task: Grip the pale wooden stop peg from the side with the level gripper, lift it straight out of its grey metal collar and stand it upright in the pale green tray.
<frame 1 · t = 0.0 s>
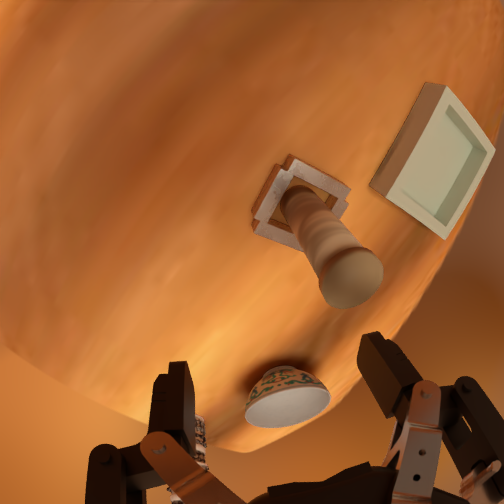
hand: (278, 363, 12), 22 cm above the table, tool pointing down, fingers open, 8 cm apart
stop collar: (298, 203, 33), on the table
tray: (431, 159, 32), on the table
chinaware: (279, 374, 51), on the table
stop peg: (320, 234, 27), in the stop collar
decorative candle: (185, 419, 57), on the table
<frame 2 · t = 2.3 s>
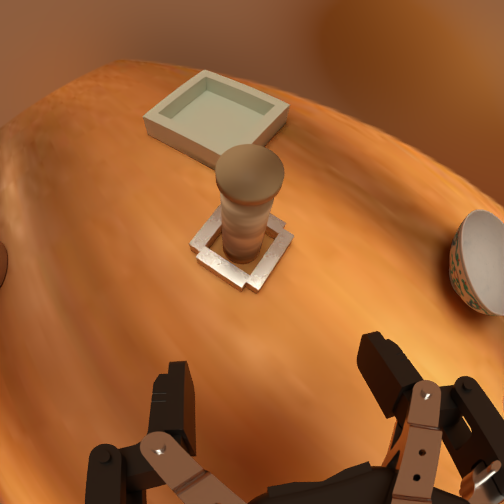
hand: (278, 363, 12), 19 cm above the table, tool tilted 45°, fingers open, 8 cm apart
stop collar: (241, 246, 35), on the table
tray: (216, 126, 41), on the table
chinaware: (462, 277, 36), on the table
stop peg: (244, 216, 28), in the stop collar
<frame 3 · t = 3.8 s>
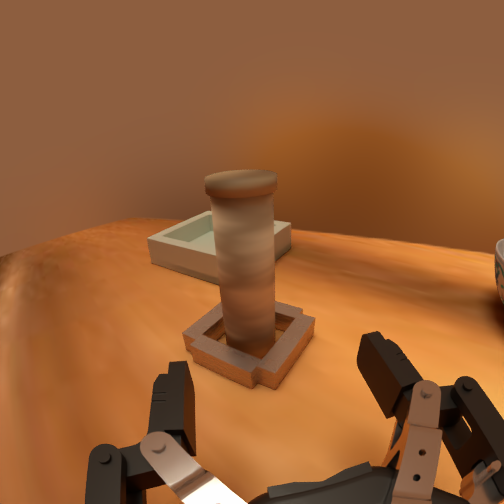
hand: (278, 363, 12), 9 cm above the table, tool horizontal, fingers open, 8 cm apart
stop collar: (250, 343, 26), on the table
tray: (221, 255, 44), on the table
stop peg: (246, 271, 23), in the stop collar
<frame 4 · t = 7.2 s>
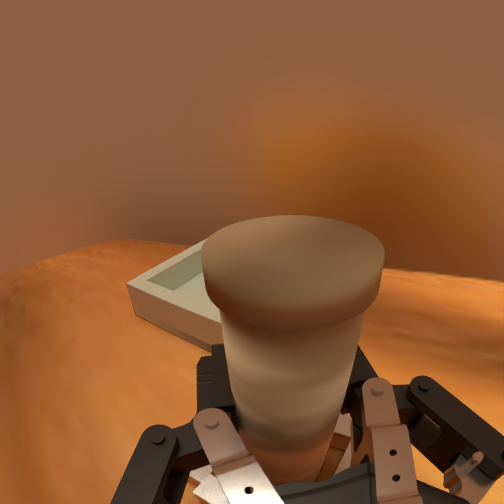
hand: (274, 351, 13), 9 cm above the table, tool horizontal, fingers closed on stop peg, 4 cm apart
stop collar: (283, 470, 14), on the table
tray: (228, 304, 32), on the table
stop peg: (287, 408, 11), in the stop collar, touching gripper
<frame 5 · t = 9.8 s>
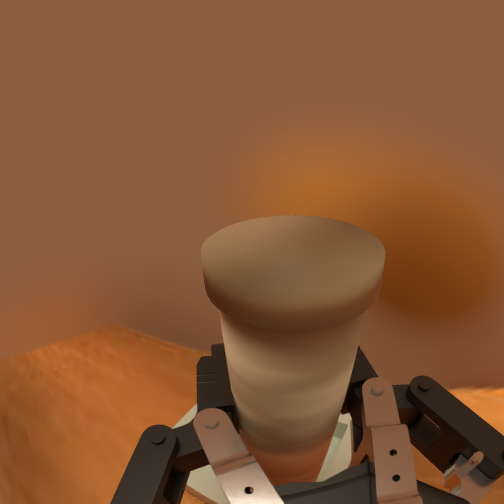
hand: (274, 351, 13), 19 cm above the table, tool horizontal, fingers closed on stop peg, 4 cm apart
tray: (261, 461, 23), on the table
stop peg: (287, 408, 11), point 18 cm above the table, touching gripper
when the fingers open (11 cm above the table, at t = 12.6 s): stop peg drops 1 cm, resting on tray.
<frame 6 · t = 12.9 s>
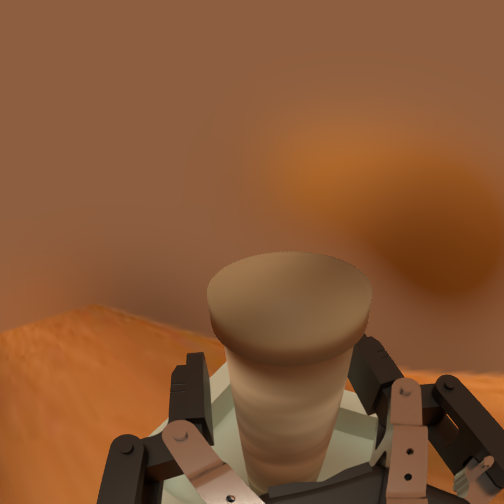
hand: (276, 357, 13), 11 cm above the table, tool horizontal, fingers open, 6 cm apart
tray: (281, 483, 15), on the table
stop peg: (286, 423, 12), in the tray, point 9 cm above the table
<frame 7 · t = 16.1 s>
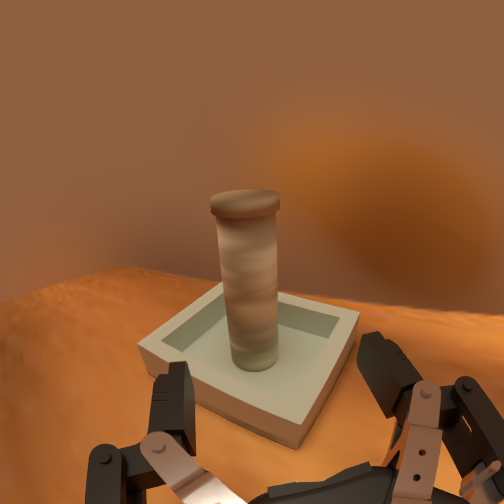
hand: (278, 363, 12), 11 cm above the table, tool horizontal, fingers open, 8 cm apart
tray: (254, 362, 27), on the table
stop peg: (250, 287, 24), in the tray, point 9 cm above the table
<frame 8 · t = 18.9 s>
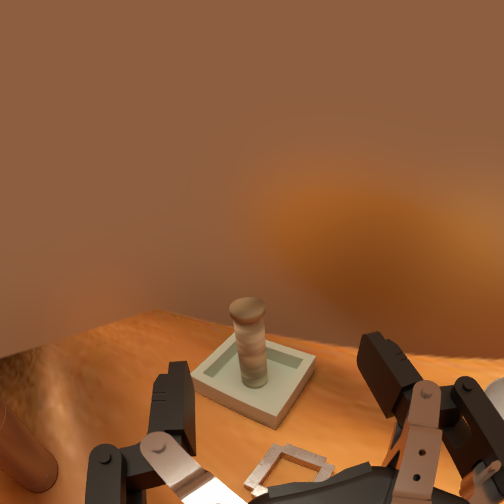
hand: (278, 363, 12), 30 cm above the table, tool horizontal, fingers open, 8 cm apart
stop collar: (289, 481, 29), on the table
tray: (254, 382, 47), on the table
chinaware: (492, 440, 26), on the table
stop peg: (251, 346, 44), in the tray, point 9 cm above the table
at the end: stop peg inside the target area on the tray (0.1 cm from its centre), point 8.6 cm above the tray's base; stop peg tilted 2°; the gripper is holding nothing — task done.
